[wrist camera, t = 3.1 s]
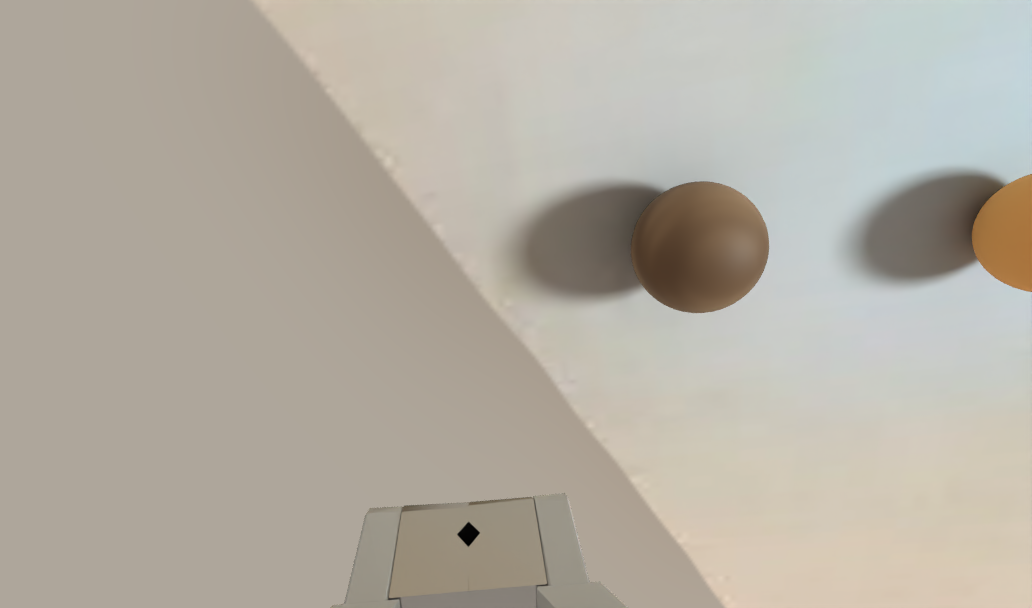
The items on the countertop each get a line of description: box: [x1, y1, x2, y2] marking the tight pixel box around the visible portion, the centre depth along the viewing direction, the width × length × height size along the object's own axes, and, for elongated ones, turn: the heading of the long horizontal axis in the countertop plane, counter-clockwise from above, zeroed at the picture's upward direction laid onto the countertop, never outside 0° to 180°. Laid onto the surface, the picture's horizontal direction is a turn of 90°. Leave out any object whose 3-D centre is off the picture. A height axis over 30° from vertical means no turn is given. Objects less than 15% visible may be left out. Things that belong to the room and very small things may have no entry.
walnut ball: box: [631, 182, 769, 313], centre depth 22 cm, size 5×5×5 cm
